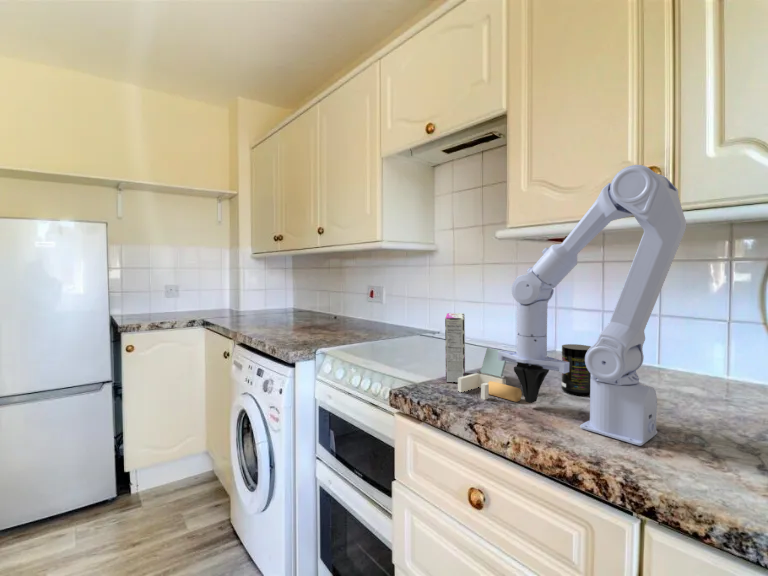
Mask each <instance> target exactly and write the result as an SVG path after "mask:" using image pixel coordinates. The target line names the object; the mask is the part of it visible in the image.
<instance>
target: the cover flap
mask: <svg viewBox="0 0 768 576" xmlns="http://www.w3.org/2000/svg"><path fill="white" fill-rule="evenodd" d="M498 351H502V350H500V349H495V348H490V347H487V348H486V351H485V354H484V358H483V362H482V365H481V368H480V371H481V373H484V374H488V375H492V376H496V377H500V378H501V376H504V372H505V371H504V370H505V368H506V364H507V361H500V360H498Z"/></svg>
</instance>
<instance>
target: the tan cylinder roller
mask: <svg viewBox="0 0 768 576" xmlns="http://www.w3.org/2000/svg"><path fill="white" fill-rule="evenodd" d="M488 384H489V396H490V395H491V396H494V397H497V398H500V399H504V400H507V401H508V400H509V401H511V402H514V403H518V402H520V401H521V399H522V394H523V390H522V388H520V387H516V386H513V385H508V384H506V385H505V384H501V383H497V382H493V381H490V382H488Z"/></svg>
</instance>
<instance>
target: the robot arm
mask: <svg viewBox="0 0 768 576" xmlns="http://www.w3.org/2000/svg"><path fill="white" fill-rule="evenodd" d="M680 201H681V200H680V197H679V189H678V188H677V187H676V186H675V185H674V183H672V182H671V181H670V180H669V179H668V177H666V176H665V175H662V174H659V173H657V172H655V171H653V170H652V169H651V168H649V167H648V166H645V165H643V164H633V165H628V166H625V167H624V168H622V169H621V170H620V171H617V173H616V174H615V175H614V177H613V179H612V180H611V182H608V183H607V184H606V185H605V186H604V187H602V189H601V190H600V193H599V194H598V196H597V198H596V199H595V201H594V202H593V203H592V205H591V206H590V208H589V209H588V210H587V211H586V212H585V214H584V215H583V216H582V218H580V220H579V221H578V223H577V224H576V225H575V226H574V228H573V229H572V230H571V231H570V232H569V234H568V235H567V236H566V238H564V239H563V241H562V243H558V244H557V243H555V244H552V245H550V247H544V249H543V250H541V253H542V256H540V258H539V259H538V260H537V261H536V262H535V264H533V266H531V267H529V268H528V269H527V271H526V272H527V273H526V274H521V275H518V276H517V277H516V278H515V280H514V281H513V283H512V285H511V294H512V295H511V296H512V297H513V298H514V300H515V301H516V351H511V350H501V351H498V360H500V361H506V362H509V363H515V364H516V366H514V367H513V371H514V373H515V375H516V376H517V378H518V380H519V383H520V386H521V390H522V394H523V397H524V401H525V402H526V403H529V404H533V403H536V402H537V399H538V396H539V391H540V390H541V386H542V384H543V382H544V380H545V379H546V376H547V375H548V373H549V372H550V371H554V372H559V373H560V374H562V373H564V374H565V373H568V372H569V362H566V361H562V359H559V358H558V359H557V358H555V357H550V356H547V355H548V303H549V301H550V300H551V299H552V298H553V295H554V291H555V290H554V289H555V288H556V287H557V286H558V285H559V284H560V282H562V280H563V279H565V277H567V276H568V275H569V274H570V273H571V271H572V270H573V269H574V268H575V267H576V266H577V264H578V254H579V253H580V252H581V251H582V250H583V249H584V248H585V247H587V245H588V244H590V243H591V242H592V241H593V240H594V239H595V238H596V236H598V235H599V234H600V233H601V232H602V231H603V230H604V229H605V228H606V227H607V226H608V225H609V224H610V223H611V222H613V221H616V220H620V219H625V218H629V217H632V216H633V217H634V219H635V220H636V221H637V223H638V225H639V226H640V227H641V228H642V230H643V234H642V236H641V239H640V241H639V245H638V247H637V250H636V253H635V255H634V257H633V260H632V262H631V266H630V268H629V270H628V273H627V275H626V278H625V281H624V283H623V287H622V288H621V291H620V294H619V297H618V299H617V302H616V304H615V307H614V310H613V313H612V315H611V318H610V320H609V322H608V323H607V325H605V327H604V328H603V329H602V331H601V332H600V334H599V336H598V339H597V340H596V342H595V343H594V344H593V345H592V346H591V347H590V348H589V349H588V351H587V352H586V355H585V364H586V367H587V369H588V371H589V372H590V373H591V378H590V395H589V420H587V421H585V422H583V423H582V424H580V425H579V428H581V429H583V430H586V431H589V432H593V433H595V434H600V435H602V436H606V437H609V438H612V439H615V440H618V441H622V442H626V443H629V444H631V445H632V444H633V445H635V446H640V447H641V446H643V445H644V444H646V443H647V442H648V441H650V440H651V439H652V438H654V437H655V436H656V435H658V430H657V416H658V415H657V412H658V411H657V409H658V408H657V406H658V404H657V403H658V398H657V396H658V395H657V391H656V389H655V387H652V386H650V385H646V384H644V383H641V382H640V377H639V375H638V372H637V370H639V369H640V368H641V367H642V365H643V363H644V360H645V359H644V352H643V351H644V350H643V347H644V344H645V341H646V333H645V330H646V327H647V325H648V322H649V319H650V317H651V314H652V312H653V310H654V307H655V305H656V304H657V303H656V302H657V300H658V298H659V295H660V293H661V291H662V289H663V286H664V283H665V281H666V278H667V276H668V273H669V271H670V268H671V267H672V264H673V262H674V258H675V257H676V254H677V252H678V249H679V248H680V244H681V242H682V239H683V237H684V235H685V232H686V229H687V220H686V217H685V214H684V210H683V208H682V204H681V202H680Z"/></svg>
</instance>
